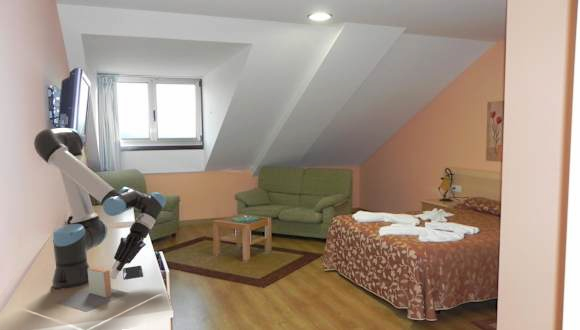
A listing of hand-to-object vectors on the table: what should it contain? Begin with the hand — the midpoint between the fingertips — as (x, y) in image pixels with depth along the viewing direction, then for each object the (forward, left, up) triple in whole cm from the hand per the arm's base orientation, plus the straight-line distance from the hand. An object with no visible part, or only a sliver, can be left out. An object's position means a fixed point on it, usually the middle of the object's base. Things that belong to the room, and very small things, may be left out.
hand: (111, 277), depth 167 cm
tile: (+2, -5, -5) cm, 7 cm away
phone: (-13, +13, -6) cm, 19 cm away
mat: (+3, -8, -5) cm, 10 cm away
